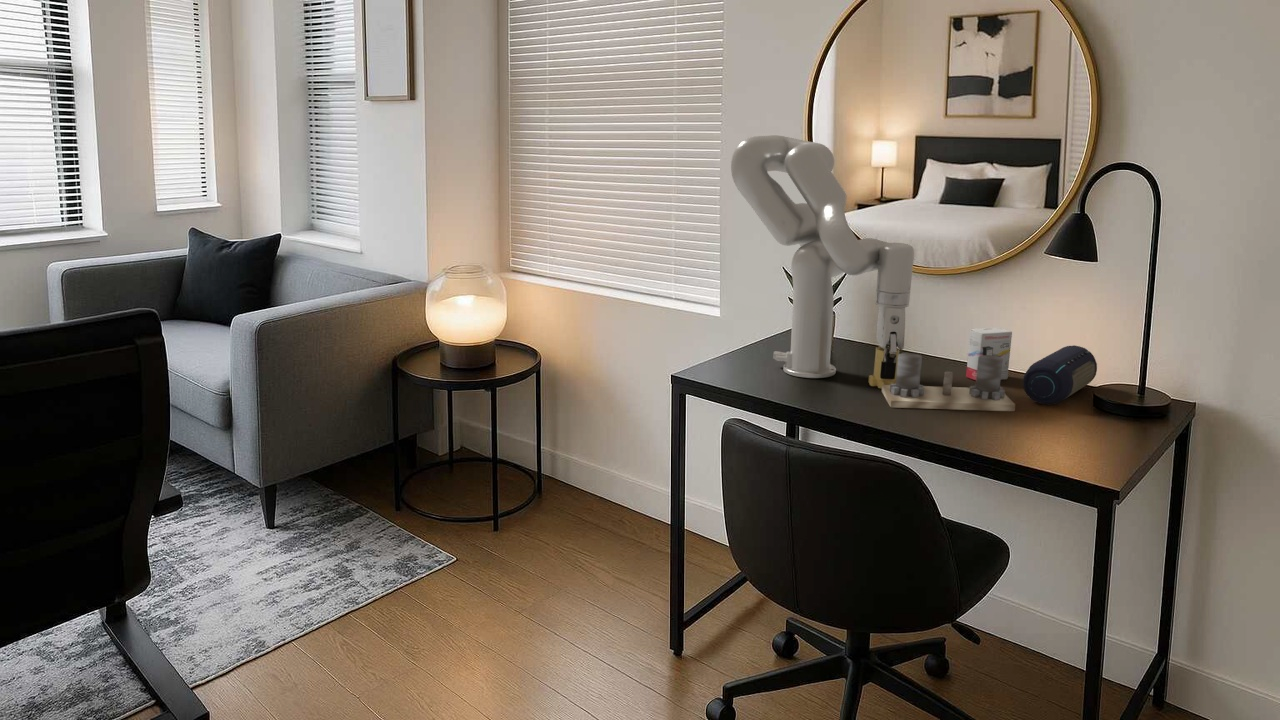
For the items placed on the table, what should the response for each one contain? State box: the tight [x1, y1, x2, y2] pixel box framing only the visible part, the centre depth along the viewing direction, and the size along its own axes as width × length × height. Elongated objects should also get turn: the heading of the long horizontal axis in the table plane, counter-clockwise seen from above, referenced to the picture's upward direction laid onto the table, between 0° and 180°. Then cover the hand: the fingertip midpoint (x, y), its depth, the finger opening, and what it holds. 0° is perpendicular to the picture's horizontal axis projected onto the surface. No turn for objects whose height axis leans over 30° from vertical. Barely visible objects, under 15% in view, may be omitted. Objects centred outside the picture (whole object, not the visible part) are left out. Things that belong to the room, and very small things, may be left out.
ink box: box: [965, 327, 1013, 381], centre depth 230 cm, size 9×5×12 cm, turn 107°
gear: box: [868, 346, 900, 389], centre depth 224 cm, size 7×7×8 cm
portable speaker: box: [1022, 344, 1098, 406], centre depth 218 cm, size 25×10×10 cm, turn 139°
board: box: [881, 352, 1016, 412], centre depth 212 cm, size 26×12×10 cm, turn 85°
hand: (885, 374), depth 225 cm, fingers closed on gear, 5 cm apart
